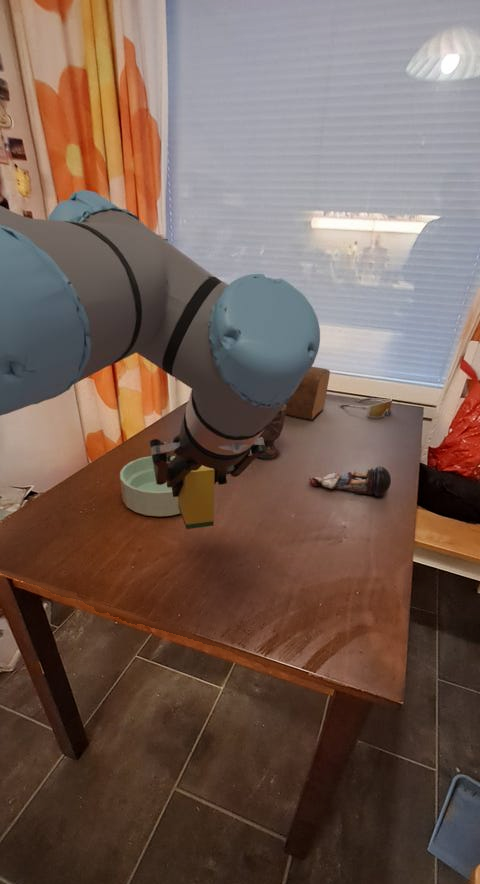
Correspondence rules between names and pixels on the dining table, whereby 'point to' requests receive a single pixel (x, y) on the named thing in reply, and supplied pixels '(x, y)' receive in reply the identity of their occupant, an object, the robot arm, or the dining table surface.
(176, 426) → the dining table surface
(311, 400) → the bread
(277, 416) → the mortar and pestle
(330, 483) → the figurine
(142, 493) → the bowl
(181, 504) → the sponge
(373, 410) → the sunglasses
